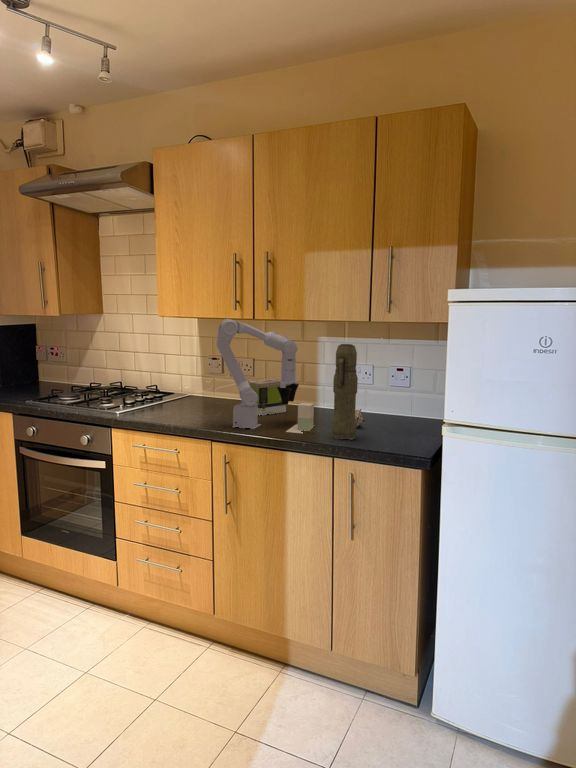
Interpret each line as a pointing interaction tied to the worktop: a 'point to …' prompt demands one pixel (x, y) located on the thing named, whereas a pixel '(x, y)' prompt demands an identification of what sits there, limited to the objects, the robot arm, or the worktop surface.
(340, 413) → the stone moai statue
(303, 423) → the pale green cube
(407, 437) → the worktop surface
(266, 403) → the tea box
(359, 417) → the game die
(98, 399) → the worktop surface
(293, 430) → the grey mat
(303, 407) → the cream brick
